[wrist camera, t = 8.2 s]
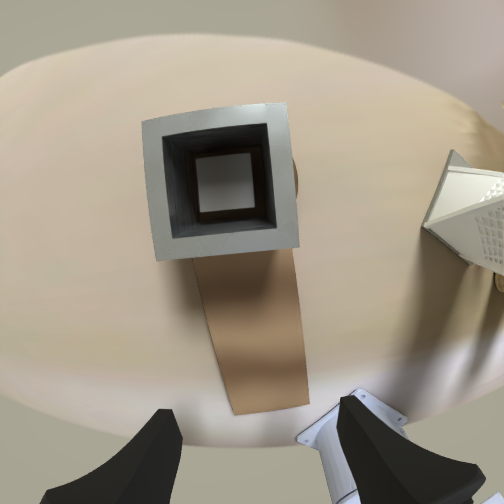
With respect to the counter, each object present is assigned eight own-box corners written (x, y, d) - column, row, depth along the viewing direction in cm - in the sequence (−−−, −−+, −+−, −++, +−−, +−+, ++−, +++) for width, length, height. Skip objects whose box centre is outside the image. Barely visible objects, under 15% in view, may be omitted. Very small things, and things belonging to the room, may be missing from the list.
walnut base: (318, 389, 21) (330, 426, 17) (223, 404, 21) (219, 443, 17) (282, 114, 16) (292, 92, 12) (160, 138, 17) (135, 124, 12)
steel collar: (272, 132, 15) (286, 102, 9) (281, 227, 17) (299, 247, 11) (177, 143, 15) (141, 121, 10) (186, 236, 17) (156, 261, 11)
